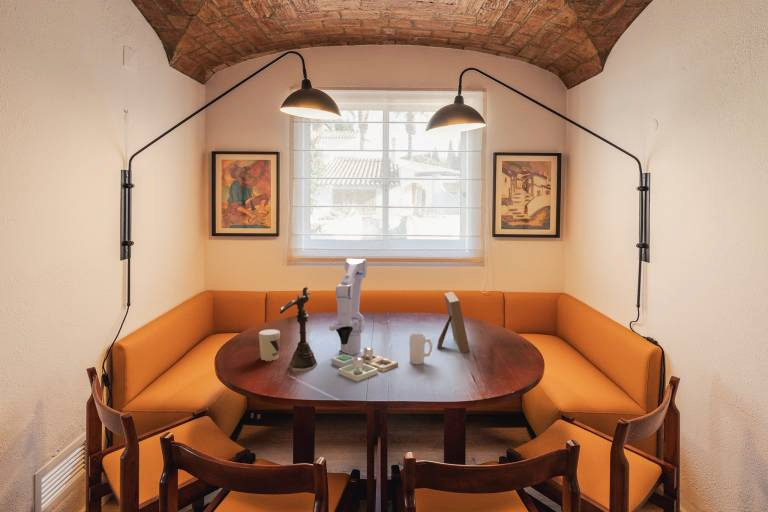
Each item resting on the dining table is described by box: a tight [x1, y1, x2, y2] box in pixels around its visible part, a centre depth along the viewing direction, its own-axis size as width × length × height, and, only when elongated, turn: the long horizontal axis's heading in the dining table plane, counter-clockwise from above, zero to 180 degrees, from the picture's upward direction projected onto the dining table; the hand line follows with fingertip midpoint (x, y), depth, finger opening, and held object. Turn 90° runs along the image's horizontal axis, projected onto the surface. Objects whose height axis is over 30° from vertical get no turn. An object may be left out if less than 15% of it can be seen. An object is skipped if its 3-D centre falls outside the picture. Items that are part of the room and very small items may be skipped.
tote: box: [338, 363, 379, 382], centre depth 166 cm, size 11×11×2 cm
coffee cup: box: [258, 328, 281, 362], centre depth 183 cm, size 9×9×12 cm
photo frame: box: [436, 291, 470, 354], centre depth 203 cm, size 15×22×25 cm
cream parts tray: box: [354, 353, 399, 373], centre depth 177 cm, size 18×9×2 cm, turn 46°
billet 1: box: [353, 356, 363, 375], centre depth 166 cm, size 4×4×6 cm
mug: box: [409, 332, 433, 365], centre depth 180 cm, size 10×7×12 cm, turn 82°
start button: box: [339, 355, 350, 361], centre depth 176 cm, size 4×4×3 cm
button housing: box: [331, 353, 356, 368], centre depth 176 cm, size 8×8×3 cm
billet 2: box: [363, 346, 374, 360], centre depth 180 cm, size 4×4×6 cm
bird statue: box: [279, 286, 318, 373], centre depth 171 cm, size 17×13×35 cm
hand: (344, 343), depth 175 cm, fingers closed
